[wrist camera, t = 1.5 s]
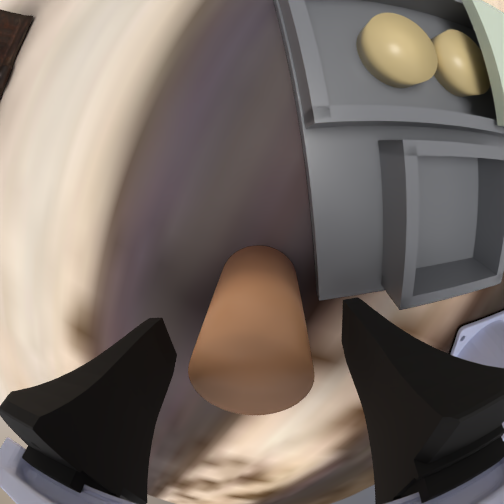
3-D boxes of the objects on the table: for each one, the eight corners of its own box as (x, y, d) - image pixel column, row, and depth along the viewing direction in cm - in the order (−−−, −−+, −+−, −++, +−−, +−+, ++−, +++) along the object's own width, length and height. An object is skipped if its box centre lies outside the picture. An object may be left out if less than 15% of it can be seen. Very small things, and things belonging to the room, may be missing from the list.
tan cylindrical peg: (299, 308, 15) (314, 410, 8) (229, 315, 15) (206, 415, 9) (293, 240, 13) (313, 326, 7) (214, 250, 14) (171, 337, 7)
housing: (497, 257, 13) (527, 278, 10) (316, 291, 14) (327, 330, 11) (478, 31, 7) (509, 20, 4) (272, -3, 9) (272, -39, 5)
